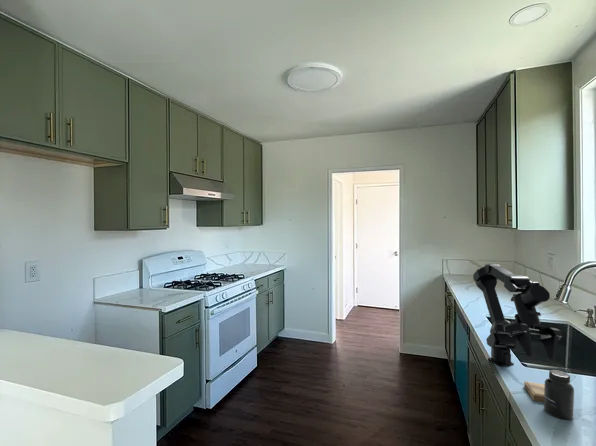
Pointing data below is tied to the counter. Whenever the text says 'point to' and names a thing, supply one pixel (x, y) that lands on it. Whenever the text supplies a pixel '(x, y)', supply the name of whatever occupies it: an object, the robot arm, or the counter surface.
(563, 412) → the supplement bottle
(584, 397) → the counter surface
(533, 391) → the square wooden coaster
